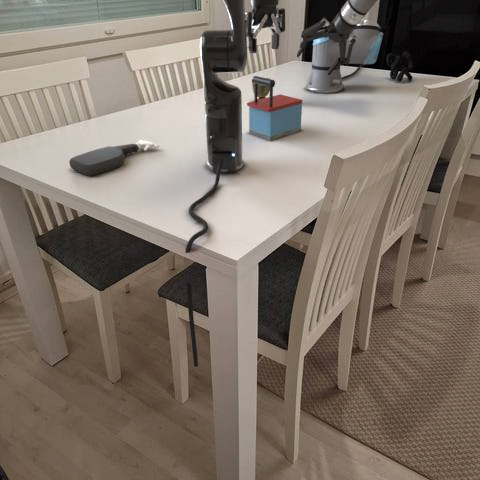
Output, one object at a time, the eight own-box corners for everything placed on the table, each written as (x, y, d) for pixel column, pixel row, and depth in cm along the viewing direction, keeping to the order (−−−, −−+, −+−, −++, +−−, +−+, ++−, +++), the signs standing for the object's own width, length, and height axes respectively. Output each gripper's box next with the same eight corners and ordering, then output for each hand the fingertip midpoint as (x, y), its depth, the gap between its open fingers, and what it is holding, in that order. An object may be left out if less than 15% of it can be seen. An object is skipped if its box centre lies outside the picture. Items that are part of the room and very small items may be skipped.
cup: (248, 101, 174) (248, 80, 169) (256, 97, 179) (256, 76, 175) (265, 103, 171) (266, 82, 166) (273, 99, 176) (274, 78, 172)
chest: (270, 140, 136) (270, 111, 131) (249, 133, 142) (248, 105, 138) (300, 130, 144) (302, 103, 139) (279, 123, 150) (280, 97, 145)
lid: (268, 112, 131) (269, 81, 126) (246, 105, 137) (246, 76, 133) (302, 102, 139) (303, 74, 134) (280, 97, 145) (281, 69, 141)
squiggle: (400, 92, 202) (376, 71, 205) (417, 76, 202) (392, 56, 205) (405, 81, 191) (380, 59, 194) (423, 64, 191) (397, 42, 194)
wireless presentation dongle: (67, 168, 120) (139, 144, 136) (91, 178, 114) (163, 151, 130) (65, 157, 118) (137, 134, 134) (89, 167, 112) (162, 142, 128)
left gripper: (273, -16, 125) (272, 46, 133) (235, -14, 117) (236, 52, 125) (293, -16, 120) (290, 49, 128) (254, -13, 112) (254, 55, 121)
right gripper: (316, 4, 142) (283, 53, 160) (378, 43, 149) (340, 86, 166) (318, -9, 146) (286, 40, 164) (379, 29, 153) (342, 73, 170)
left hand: (264, 50), depth 127 cm, fingers open, 8 cm apart
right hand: (313, 63), depth 165 cm, fingers open, 13 cm apart
